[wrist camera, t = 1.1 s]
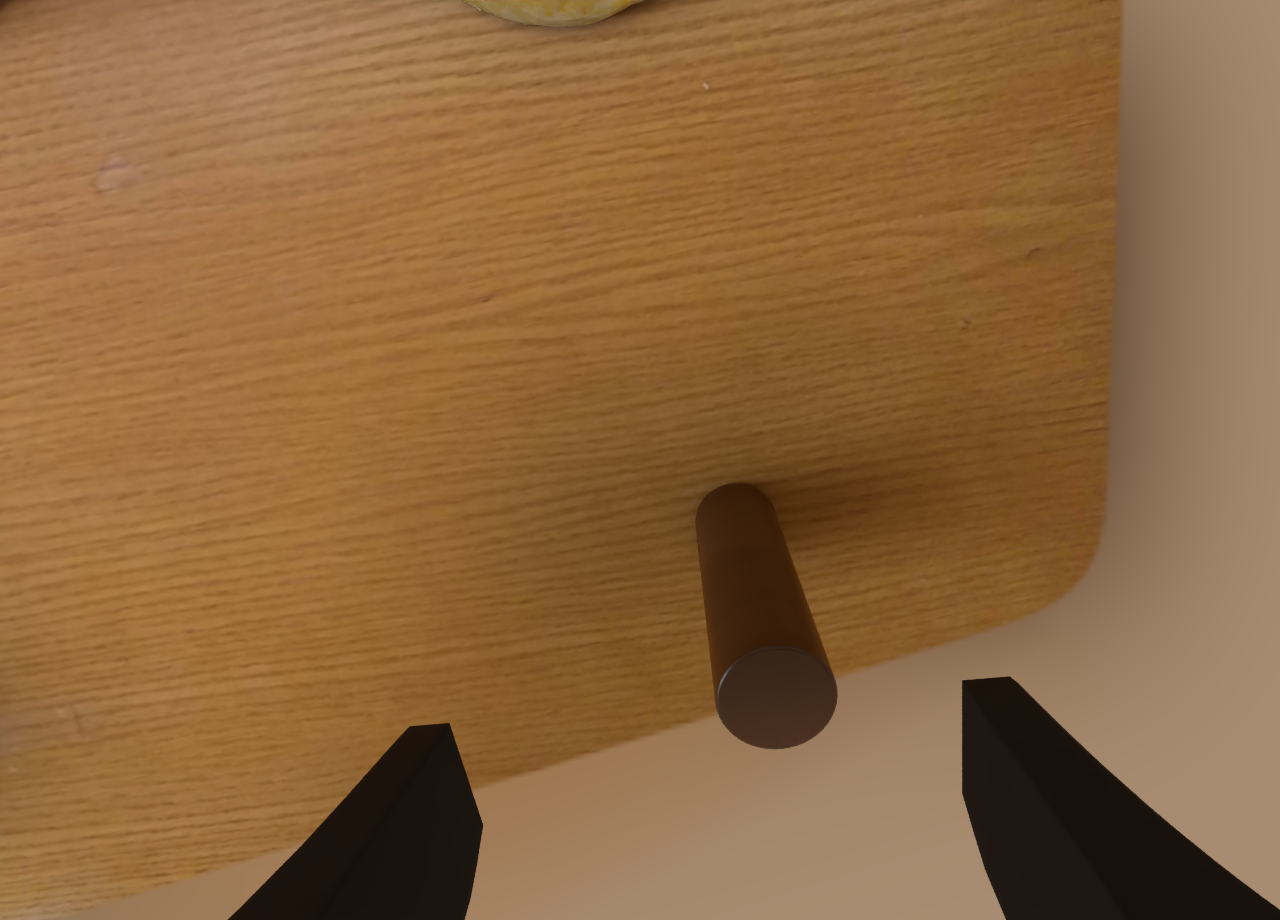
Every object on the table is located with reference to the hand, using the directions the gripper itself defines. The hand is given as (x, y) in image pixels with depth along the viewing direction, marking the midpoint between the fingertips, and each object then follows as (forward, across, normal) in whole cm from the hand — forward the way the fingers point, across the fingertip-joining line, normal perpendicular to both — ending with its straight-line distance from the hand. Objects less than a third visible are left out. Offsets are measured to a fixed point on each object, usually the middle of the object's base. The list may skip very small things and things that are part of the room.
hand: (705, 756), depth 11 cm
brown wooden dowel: (+13, -1, +3) cm, 13 cm away
